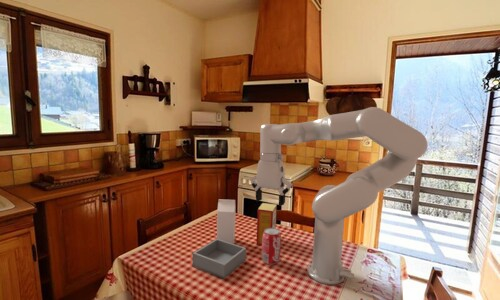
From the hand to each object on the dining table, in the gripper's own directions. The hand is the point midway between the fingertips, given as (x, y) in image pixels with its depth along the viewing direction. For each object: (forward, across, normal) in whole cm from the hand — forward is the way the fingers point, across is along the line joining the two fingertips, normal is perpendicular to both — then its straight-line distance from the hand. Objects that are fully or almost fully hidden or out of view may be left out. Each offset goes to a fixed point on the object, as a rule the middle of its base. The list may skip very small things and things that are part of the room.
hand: (269, 202), depth 97 cm
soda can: (+23, -1, 0) cm, 23 cm away
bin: (+22, +14, +13) cm, 29 cm away
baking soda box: (+22, +9, -13) cm, 28 cm away
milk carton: (+22, +22, -1) cm, 31 cm away
